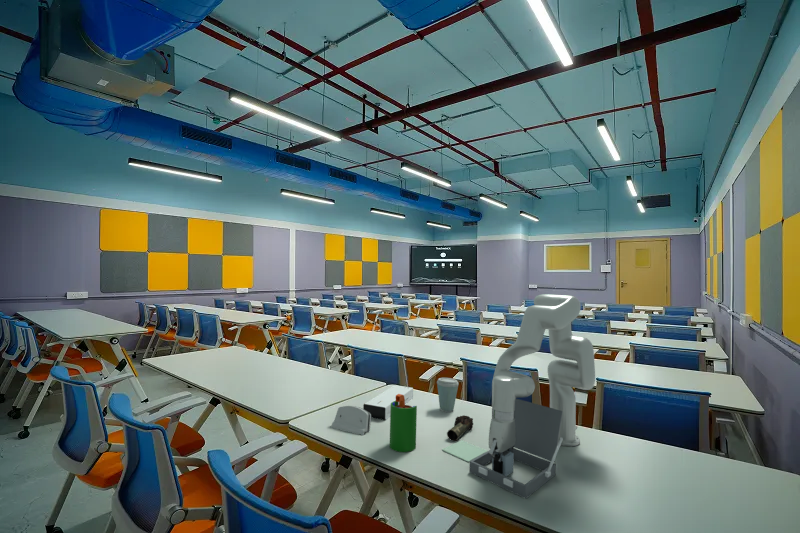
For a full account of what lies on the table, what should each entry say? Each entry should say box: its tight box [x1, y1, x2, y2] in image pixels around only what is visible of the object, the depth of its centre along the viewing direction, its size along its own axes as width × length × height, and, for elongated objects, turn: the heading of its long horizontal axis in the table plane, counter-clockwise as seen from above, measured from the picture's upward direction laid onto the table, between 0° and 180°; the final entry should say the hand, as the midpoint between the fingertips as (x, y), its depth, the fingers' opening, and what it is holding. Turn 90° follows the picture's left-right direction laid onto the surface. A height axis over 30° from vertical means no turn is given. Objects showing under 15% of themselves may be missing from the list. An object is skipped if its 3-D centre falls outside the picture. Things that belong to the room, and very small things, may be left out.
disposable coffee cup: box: [436, 377, 459, 413], centre depth 181 cm, size 11×11×15 cm
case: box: [469, 438, 563, 499], centre depth 124 cm, size 24×21×12 cm
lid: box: [514, 398, 563, 464], centre depth 132 cm, size 17×19×1 cm
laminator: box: [362, 384, 414, 421], centre depth 184 cm, size 34×12×6 cm, turn 156°
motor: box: [389, 394, 418, 453], centre depth 141 cm, size 10×9×20 cm
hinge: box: [331, 405, 372, 436], centre depth 157 cm, size 17×5×10 cm, turn 63°
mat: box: [441, 440, 488, 464], centre depth 138 cm, size 12×12×1 cm
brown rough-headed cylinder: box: [446, 414, 474, 442], centre depth 155 cm, size 18×7×6 cm, turn 146°
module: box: [491, 449, 514, 477], centre depth 124 cm, size 5×5×6 cm
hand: (502, 468), depth 124 cm, fingers closed on module, 5 cm apart
